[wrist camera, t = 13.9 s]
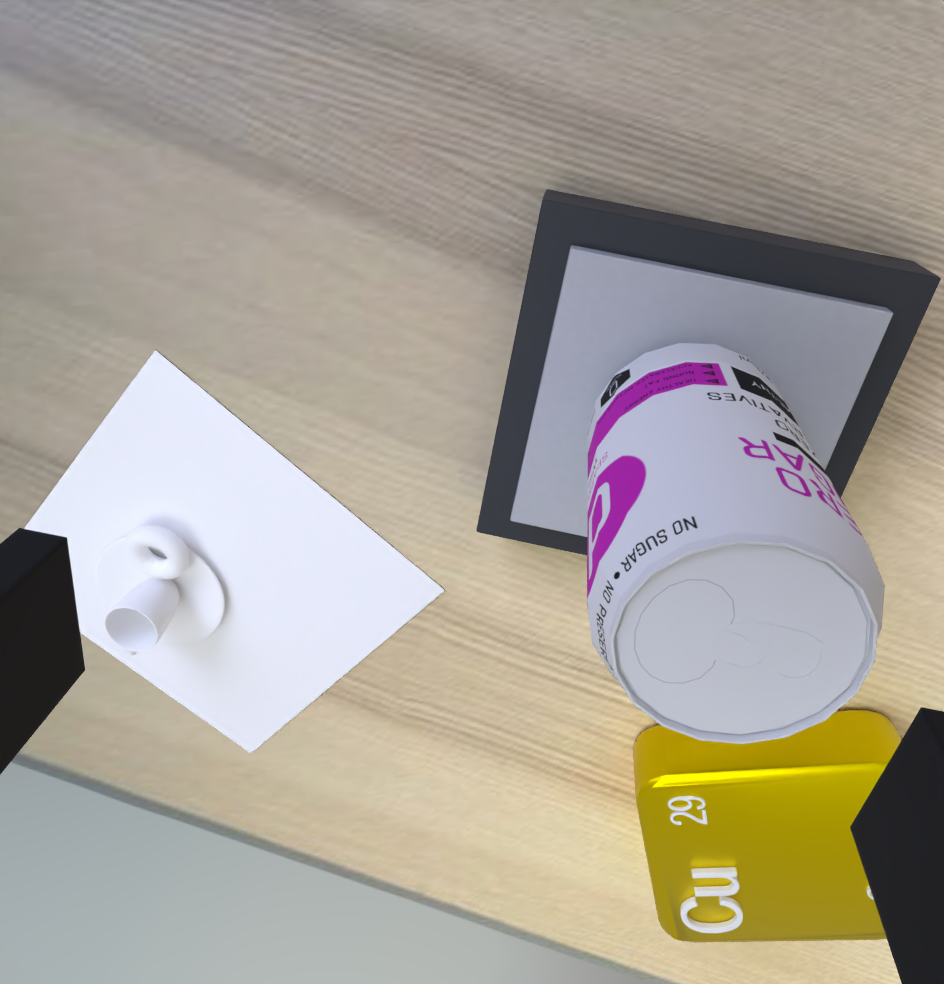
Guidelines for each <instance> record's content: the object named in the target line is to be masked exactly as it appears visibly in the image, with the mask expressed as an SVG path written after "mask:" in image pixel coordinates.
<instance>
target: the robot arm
mask: <svg viewBox="0 0 944 984" xmlns="http://www.w3.org/2000/svg"><path fill="white" fill-rule="evenodd" d="M84 671H85V666H84V659H83V651H82V644H81V637H80V629H79V622H78V615H77V607H76V600H75V593H74V585H73V578H72V570H71V563H70V556H69V548H68V541H67V537H62V536H57V535H52V534H47V533H42V532H37V531H32V530H27V529H22V528H19V529H18V530H16V531H15V532H14V533H13V534H12V535H10V536H9V537H8V538H7V539H6V540H5V541H3V542H2V543H1V544H0V774H1V773H2V772H3V770H4V769H5V768H6V767H7V765H8V764H9V763H10V762H11V761H12V759H13V758H14V757H15V756H16V754H17V753H18V752H19V751H20V749H21V748H22V747H23V746H24V745H25V743H26V742H27V741H28V740H29V738H30V737H31V736H32V735H33V733H34V732H35V731H36V730H37V728H38V727H39V726H40V725H41V724H42V722H43V721H44V720H45V719H46V717H47V716H48V715H49V714H50V712H51V711H52V710H53V709H54V708H55V706H56V705H57V704H58V703H59V701H60V700H61V699H62V698H63V696H64V695H65V694H66V693H67V692H68V690H69V689H70V688H71V687H72V685H73V684H74V683H75V682H76V680H77V679H78V678H79V677H80V675H81V674H82V673H83V672H84ZM850 829H851V832H852V835H853V838H854V841H855V844H856V847H857V850H858V853H859V856H860V859H861V862H862V865H863V868H864V871H865V874H866V877H867V880H868V883H869V886H870V889H871V892H872V895H873V898H874V901H875V904H876V907H877V910H878V913H879V916H880V919H881V922H882V925H883V928H884V931H885V934H886V937H887V940H888V943H889V946H890V949H891V952H892V955H893V958H894V961H895V964H896V967H897V970H898V973H899V976H900V979H901V982H902V984H944V712H942V711H937V710H932V709H927V708H922V707H921V709H920V710H919V712H918V714H917V715H916V717H915V719H914V720H913V722H912V724H911V725H910V727H909V729H908V731H907V732H906V734H905V736H904V737H903V739H902V741H901V742H900V744H899V746H898V747H897V749H896V751H895V752H894V754H893V756H892V757H891V759H890V761H889V762H888V764H887V766H886V767H885V769H884V771H883V773H882V774H881V776H880V778H879V779H878V781H877V783H876V784H875V786H874V788H873V789H872V791H871V793H870V794H869V796H868V798H867V799H866V801H865V803H864V804H863V806H862V808H861V809H860V811H859V813H858V815H857V816H856V818H855V820H854V821H853V823H852V825H851V826H850Z"/></svg>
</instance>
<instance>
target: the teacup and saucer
mask: <svg viewBox="0 0 944 984" xmlns="http://www.w3.org/2000/svg"><path fill="white" fill-rule="evenodd" d="M94 575H95V584H96V588H97V591H98V593H99V596H100V598H101V600H102V601H103V603H104V605H105V606H106V608H107V609H108V610H109V611H108V612H107V613H106V615H105V617H104V620H103V625H104V629H105V632H106V634H107V635H108V637H109V638H110V639H111V640H112V641H113V642H114V643H115V644H116V645H118V646H119V647H121V648H123V652H124V653H125V654H127V655H129V656H135V655H136V654H137V653H144V652H148V651H150V650H152V649H153V648H154V647H155V646H156V645H157V644H158V643H160V644H165V645H174V646H182V645H190V644H194V643H198V642H200V641H202V640H204V639H206V638H208V637H209V636H211V635H212V634H213V633H214V632H215V631H216V630H217V629H218V627H219V626H220V624H221V623H222V620H223V618H224V615H225V609H226V601H225V594H224V591H223V588H222V585H221V583H220V581H219V579H218V577H217V575H216V574H215V572H214V571H213V570H212V568H211V567H210V566H209V565H208V564H207V563H206V561H205V560H204V559H202V558H201V557H200V556H199V555H198V554H197V553H196V552H194V551H193V550H191V549H190V548H188V546H187V545H186V543H185V542H184V541H183V539H182V538H181V537H180V536H178V535H177V534H176V533H175V532H173V531H172V530H170V529H168V528H166V527H163V526H160V525H155V524H146V525H141V526H138V527H136V528H135V529H133V530H132V531H131V532H130V533H129V534H128V535H125V536H122V537H119V538H117V539H115V540H113V541H112V542H111V543H109V544H108V545H107V546H106V547H105V548H104V549H103V550H102V552H101V553H100V555H99V557H98V559H97V561H96V565H95V573H94Z"/></svg>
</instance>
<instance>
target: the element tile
mask: <svg viewBox="0 0 944 984" xmlns="http://www.w3.org/2000/svg"><path fill="white" fill-rule="evenodd" d="M900 742H901V738H900V736H899V734H898V732H897V730H896V728H895V727H894V725H893V724H892V722H891V721H890V720H889V719H888V718H886V717H885V716H883V715H881V714H880V713H876V712H872V711H867V710H847V711H836V712H835V713H834V714H832V715H831V716H830V717H829V718H828V719H826V720H825V721H823V722H821V723H818V724H816V725H814V726H811V727H809V728H807V729H805V730H802V731H800V732H798V733H795V734H793V735H791V736H788V737H786V738H780V739H774V740H767V741H761V742H754V743H747V744H734V743H724V742H713V741H703V740H698V739H695V738H693V737H690V736H687V735H685V734H682V733H679V732H676V731H674V730H671V729H668V728H666V727H663V726H661V725H656V726H654V727H651V728H649V729H646V730H644V731H643V732H642V733H641V734H640V735H639V736H638V737H637V740H636V742H635V745H634V748H633V760H634V776H635V792H636V804H637V809H638V814H639V819H640V825H641V830H642V835H643V840H644V846H645V851H646V856H647V861H648V867H649V872H650V877H651V883H652V888H653V893H654V898H655V904H656V909H657V914H658V919H659V922H660V924H661V926H662V928H663V929H664V930H665V931H666V932H667V933H668V934H669V935H671V936H672V937H673V938H674V939H677V940H681V941H689V942H747V941H818V940H879V939H887V937H886V934H885V931H884V928H883V925H882V922H881V919H880V916H879V913H878V910H877V907H876V904H875V901H874V898H873V895H872V892H871V889H870V886H869V883H868V880H867V877H866V874H865V871H864V868H863V865H862V862H861V859H860V856H859V853H858V850H857V847H856V844H855V841H854V838H853V835H852V832H851V829H850V826H851V825H852V823H853V821H854V820H855V818H856V816H857V815H858V813H859V811H860V809H861V808H862V806H863V804H864V803H865V801H866V799H867V798H868V796H869V794H870V793H871V791H872V789H873V788H874V786H875V784H876V783H877V781H878V779H879V778H880V776H881V774H882V773H883V771H884V769H885V767H886V766H887V764H888V762H889V761H890V759H891V757H892V756H893V754H894V752H895V751H896V749H897V747H898V746H899V744H900Z"/></svg>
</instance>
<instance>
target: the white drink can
mask: <svg viewBox="0 0 944 984" xmlns="http://www.w3.org/2000/svg"><path fill="white" fill-rule="evenodd" d="M884 587H885V585H884V583H883V580H882V578H881V576H880V573H879V571H878V568H877V566H876V563H875V561H874V559H873V556H872V554H871V551H870V549H869V546H868V544H867V543H866V541H865V539H864V538H863V536H862V534H861V532H860V531H859V529H858V527H857V525H856V524H855V522H854V520H853V519H852V517H851V515H850V513H849V512H848V510H847V508H846V507H845V505H844V503H843V501H842V500H841V498H840V496H839V494H838V493H837V491H836V489H835V488H834V486H833V484H832V482H831V481H830V479H829V477H828V475H827V474H826V472H825V470H824V469H823V467H822V465H821V463H820V462H819V460H818V458H817V457H816V455H815V453H814V451H813V450H812V448H811V446H810V444H809V443H808V441H807V439H806V438H805V436H804V434H803V432H802V431H801V429H800V427H799V425H798V424H797V422H796V420H795V419H794V417H793V415H792V413H791V412H790V410H789V408H788V407H787V405H786V403H785V401H784V400H783V398H782V396H781V394H780V393H779V391H778V389H777V388H776V386H775V384H774V382H773V381H772V380H771V379H770V378H769V377H768V376H767V375H766V374H765V373H764V372H763V371H762V370H761V369H760V368H759V367H758V366H757V365H756V364H755V363H754V362H753V361H752V360H750V359H749V358H748V357H746V356H743V355H741V354H739V353H736V352H734V351H731V350H729V349H726V348H724V347H721V346H719V345H716V344H695V343H678V344H674V345H671V346H667V347H664V348H661V349H657V350H654V351H650V352H647V353H644V354H643V355H641V356H640V357H638V358H637V359H636V360H634V361H633V362H631V363H630V364H628V365H627V366H625V367H624V368H623V369H621V370H620V371H618V372H617V373H615V375H614V376H613V378H612V379H611V380H610V382H609V383H608V384H607V386H606V387H605V389H604V390H603V391H602V393H601V394H600V396H599V397H598V398H597V400H596V402H595V406H594V410H593V413H592V417H591V421H590V424H589V428H588V530H587V606H588V614H589V622H590V630H591V637H592V643H593V645H594V647H595V648H596V650H597V652H598V653H599V655H600V657H601V658H602V660H603V662H604V663H605V665H606V666H607V668H608V670H609V671H610V673H611V675H612V676H613V677H614V678H615V679H616V680H617V681H618V682H619V683H620V684H621V685H622V687H623V689H624V690H625V692H626V694H627V695H628V697H629V699H630V700H631V702H632V703H633V704H634V705H635V706H637V707H638V708H639V709H641V710H642V711H643V712H644V713H646V714H647V715H648V716H650V717H651V718H652V719H653V720H655V721H656V722H657V723H659V724H660V725H661V726H663V727H666V728H668V729H671V730H674V731H676V732H679V733H682V734H685V735H687V736H690V737H693V738H695V739H698V740H703V741H713V742H724V743H734V744H747V743H754V742H761V741H767V740H774V739H780V738H786V737H788V736H791V735H793V734H795V733H798V732H800V731H802V730H805V729H807V728H809V727H811V726H814V725H816V724H818V723H821V722H823V721H825V720H826V719H828V718H829V717H830V716H831V715H832V714H834V713H835V712H836V711H837V710H838V709H839V708H841V707H842V706H843V705H844V704H845V703H847V702H848V701H849V700H850V699H851V698H852V697H854V696H855V695H856V694H857V692H858V691H859V689H860V687H861V685H862V683H863V682H864V680H865V678H866V676H867V674H868V673H869V671H870V669H871V667H872V666H873V664H874V662H875V656H876V642H877V638H878V635H879V632H880V630H881V627H882V613H883V600H884Z"/></svg>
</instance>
